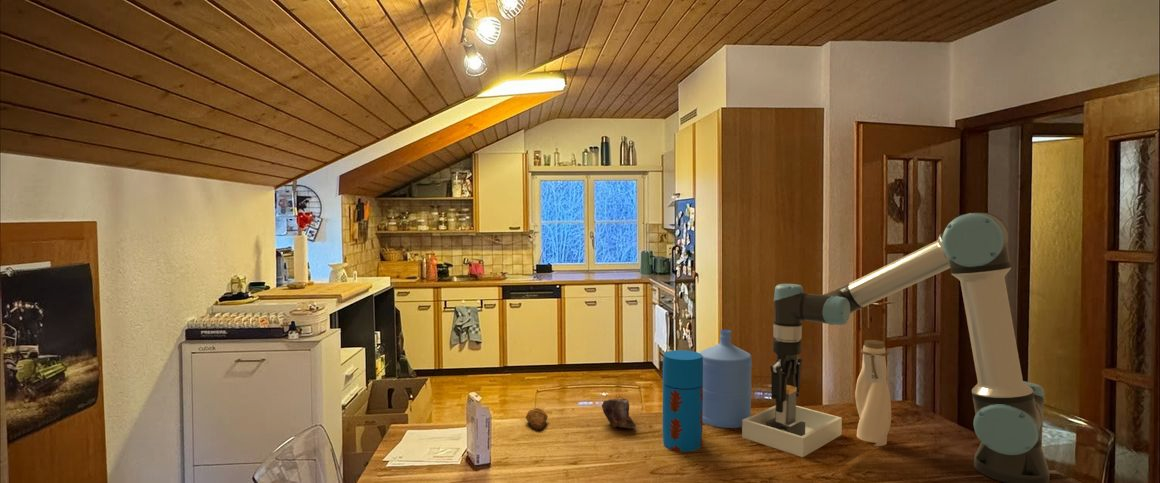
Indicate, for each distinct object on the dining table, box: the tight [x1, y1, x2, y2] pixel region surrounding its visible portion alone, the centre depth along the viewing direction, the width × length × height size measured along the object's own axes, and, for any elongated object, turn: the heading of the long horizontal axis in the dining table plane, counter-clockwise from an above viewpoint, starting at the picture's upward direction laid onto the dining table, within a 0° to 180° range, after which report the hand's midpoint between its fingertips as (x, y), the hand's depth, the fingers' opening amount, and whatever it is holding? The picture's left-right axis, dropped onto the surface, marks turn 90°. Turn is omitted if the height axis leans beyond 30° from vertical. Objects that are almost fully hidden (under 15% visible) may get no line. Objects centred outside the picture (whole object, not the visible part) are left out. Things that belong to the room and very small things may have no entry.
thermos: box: [662, 349, 703, 453], centre depth 167 cm, size 11×11×25 cm
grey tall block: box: [774, 385, 797, 425], centre depth 172 cm, size 4×4×10 cm
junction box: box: [741, 404, 843, 458], centre depth 171 cm, size 18×22×6 cm
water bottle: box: [854, 339, 892, 447], centre depth 168 cm, size 10×9×28 cm
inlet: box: [766, 418, 805, 436], centre depth 172 cm, size 8×8×4 cm
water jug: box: [699, 329, 753, 429], centre depth 184 cm, size 16×16×28 cm
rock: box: [601, 398, 637, 430], centre depth 182 cm, size 12×9×10 cm
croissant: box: [525, 407, 549, 432], centre depth 184 cm, size 14×7×5 cm, turn 9°
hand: (785, 420), depth 172 cm, fingers closed on grey tall block, 4 cm apart
